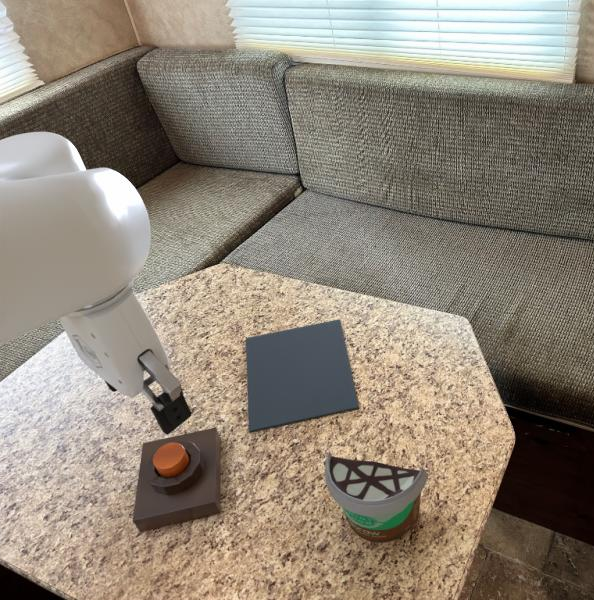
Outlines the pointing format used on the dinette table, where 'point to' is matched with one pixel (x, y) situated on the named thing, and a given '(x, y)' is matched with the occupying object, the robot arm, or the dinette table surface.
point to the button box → (180, 483)
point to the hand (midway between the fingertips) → (150, 402)
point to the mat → (298, 375)
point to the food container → (375, 496)
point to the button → (171, 460)
